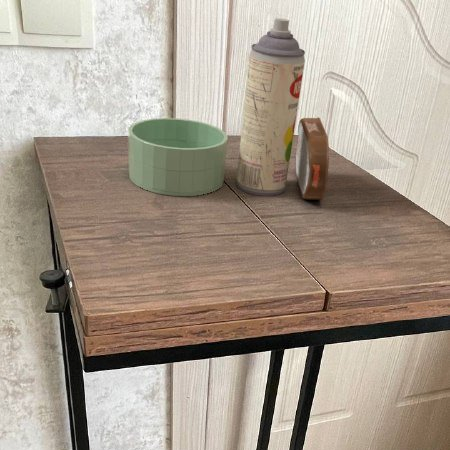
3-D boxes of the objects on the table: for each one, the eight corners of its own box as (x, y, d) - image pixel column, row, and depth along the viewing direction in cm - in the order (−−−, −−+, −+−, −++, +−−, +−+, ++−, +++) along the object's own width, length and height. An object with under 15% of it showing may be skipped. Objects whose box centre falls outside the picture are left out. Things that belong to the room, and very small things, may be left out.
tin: (323, 210, 82) (336, 144, 77) (299, 208, 82) (311, 142, 76) (310, 170, 94) (320, 110, 88) (289, 168, 93) (298, 108, 88)
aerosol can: (284, 198, 84) (311, 27, 71) (234, 192, 84) (251, 20, 71) (285, 180, 89) (310, 18, 77) (238, 174, 89) (254, 12, 77)
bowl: (224, 166, 92) (228, 123, 88) (222, 200, 81) (226, 153, 78) (135, 157, 91) (135, 114, 87) (122, 190, 81) (121, 143, 77)
